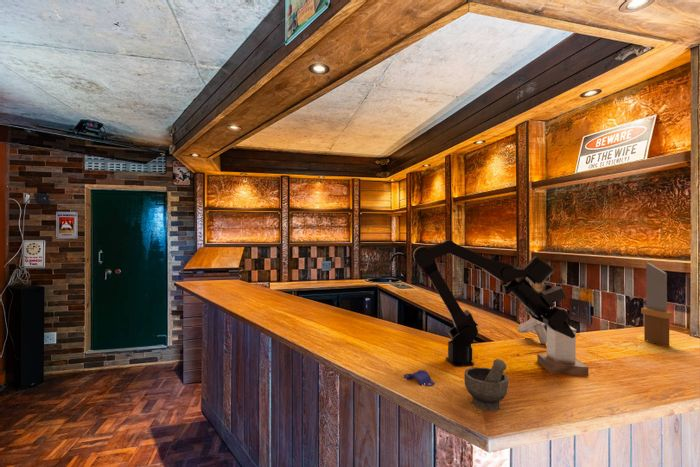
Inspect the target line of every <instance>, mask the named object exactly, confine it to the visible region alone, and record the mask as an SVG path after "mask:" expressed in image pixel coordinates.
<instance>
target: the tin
mask: <svg viewBox="0 0 700 467" xmlns="http://www.w3.org/2000/svg"><path fill="white" fill-rule="evenodd" d="M569 326H570V328H571V329H572V331H573V333H574V334H575V337H574V338H570V337H568V336H566V335H564V334H562V333H559V332H557V331H555V330H553V329H551V328H549V327H548V326H547V325H546V332H547V343H546V354H547V356H548V357H549V358H550V359H552V360H553V361H554V362H555V363H575V361H576V359H577V358H576V357H577V356H576V351H577V348H576V347H577V335H576V334H577V329H576V328H574V327H573V326H571V325H569Z"/></svg>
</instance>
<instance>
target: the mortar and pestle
mask: <svg viewBox="0 0 700 467" xmlns="http://www.w3.org/2000/svg"><path fill="white" fill-rule="evenodd" d="M506 370H507V363H506V362H505V361H504V360H502V359H500V358H495V359H494V360H493V362H492V366H491V368H488V367H477V366H476V367H473V366H472V367H470V368H467V369H464V377H463V378H464V379H463V380H464V385H465V388H466V390H467V393H468V394H470V396H472V399H471V400H472V401H471V402H472V403H471V404H472V405H473V406H474V407H475V408H477V409H480V410H483V411H484V412H485V411H488V412H489V411H490V412H495V411H497V410H500V408H501V407H500V406H501V405H500V404H501V403H500V402H501V401H502V400H503V399H505V397H506V396H507V394H508V390H509V377H508V375H507V374H505V373H504V371H506Z"/></svg>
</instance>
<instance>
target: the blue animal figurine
mask: <svg viewBox="0 0 700 467" xmlns="http://www.w3.org/2000/svg"><path fill="white" fill-rule="evenodd" d="M407 375H408V376H407ZM403 376H404V377H403ZM402 377H403V379H405V380H406V379H407V380H406V381H408V380H411V379H413V378H415V379H416V380H417V381H418V384H419V386H425V387H434V386H435V385H436V382H434V381H432V378H431V376H430V374H429V373H428V372H427V371H426V370H423V369H419V370H418V371H415V372H413V373H405V374H403V375H402ZM424 383H425V385H424ZM422 384H423V385H422Z"/></svg>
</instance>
